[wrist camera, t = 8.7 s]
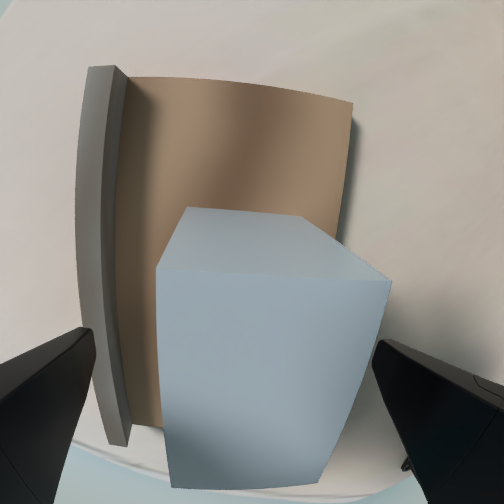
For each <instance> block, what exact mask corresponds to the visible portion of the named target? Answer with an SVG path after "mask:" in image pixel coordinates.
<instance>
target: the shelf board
mask: <svg viewBox="0 0 504 504" xmlns="http://www.w3.org/2000/svg"><path fill="white" fill-rule="evenodd" d="M352 110H353V103H351V102H347V101H343V100H338V99H334V98H330V97H325V96H320V95H316V94H311V93H306V92H300V91H295V90H289V89H283V88H277V87H271V86H264V85H257V84H249V83H241V82H231V81H221V80H210V79H195V78H175V77H127V76H126V75H125V74H124V73H123V72H122V71H121V70H120V69H119V68H117V67H116V66H115V65H109V66H94V67H89V68H88V73H87V79H86V85H85V91H84V97H83V104H82V112H81V120H80V129H79V139H78V150H77V165H76V187H75V238H76V260H77V279H78V290H79V300H80V309H81V317H82V324H83V327H85V328H91V329H92V330H93V333H94V339H95V346H96V361H95V365H94V368H93V372H92V381H93V386H94V390H95V394H96V398H97V402H98V406H99V410H100V414H101V418H102V421H103V425H104V429H105V432H106V436H107V439H108V442H109V444H110V445H116V446H122V447H127V445H128V441H129V436H130V431H131V427H132V424H136V425H144V426H153V427H162V428H163V418H162V408H161V397H160V384H159V369H158V350H157V324H156V267H157V265H158V263H159V261H160V259H161V257H162V255H163V253H164V251H165V249H166V247H167V245H168V243H169V241H170V239H171V237H172V235H173V233H174V231H175V229H176V227H177V225H178V223H179V221H180V219H181V217H182V215H183V213H184V211H185V210H186V208H187V207H198V208H212V209H225V210H238V211H249V212H261V213H272V214H282V215H293V216H302V217H303V218H305V219H306V220H307V221H309V222H310V223H312V224H313V225H315V226H316V227H318V228H319V229H321V230H322V231H323V232H325V233H326V234H328V235H329V236H331V237H332V238H333V239H335V238H336V232H337V226H338V220H339V214H340V207H341V201H342V194H343V187H344V180H345V172H346V165H347V157H348V148H349V139H350V130H351V120H352Z"/></svg>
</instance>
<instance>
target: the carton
mask: <svg viewBox="0 0 504 504" xmlns="http://www.w3.org/2000/svg"><path fill="white" fill-rule="evenodd" d="M391 284H392V281H391V280H390V279H389V278H387V277H386V276H385V275H383V274H382V273H381V272H379V271H378V270H376V269H375V268H374V267H372V266H371V265H370V264H368V263H367V262H366V261H364V260H363V259H361V258H360V257H359V256H357V255H356V254H355V253H353V252H352V251H350V250H349V249H348V248H346V247H345V246H343V245H342V244H341V243H339V242H338V241H336V240H335V239H333V238H332V237H331V236H329V235H328V234H326V233H325V232H323V231H322V230H321V229H319V228H318V227H316V226H315V225H313V224H312V223H310V222H309V221H307V220H306V219H305V218H303V217H302V216H293V215H282V214H272V213H261V212H249V211H238V210H225V209H212V208H198V207H187V208H186V210H185V211H184V213H183V215H182V217H181V219H180V221H179V223H178V225H177V227H176V229H175V231H174V233H173V235H172V237H171V239H170V241H169V243H168V245H167V247H166V249H165V251H164V253H163V255H162V257H161V259H160V261H159V263H158V265H157V267H156V324H157V350H158V369H159V384H160V397H161V408H162V418H163V428H164V437H165V445H166V453H167V461H168V468H169V475H170V481H171V487H172V488H186V489H208V490H241V489H264V488H277V487H288V486H297V485H306V484H313V483H318V481H319V479H320V477H321V475H322V473H323V471H324V469H325V467H326V465H327V463H328V460H329V458H330V456H331V454H332V452H333V450H334V448H335V445H336V443H337V441H338V439H339V436H340V434H341V432H342V430H343V427H344V425H345V422H346V420H347V418H348V415H349V413H350V410H351V408H352V405H353V403H354V400H355V398H356V395H357V392H358V390H359V387H360V384H361V382H362V379H363V376H364V373H365V370H366V368H367V365H368V362H369V359H370V356H371V353H372V350H373V347H374V344H375V340H376V337H377V334H378V331H379V327H380V324H381V321H382V317H383V314H384V310H385V306H386V303H387V299H388V295H389V291H390V288H391Z"/></svg>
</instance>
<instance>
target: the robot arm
mask: <svg viewBox="0 0 504 504" xmlns="http://www.w3.org/2000/svg"><path fill="white" fill-rule="evenodd" d="M95 361H96V346H95V339H94V333H93V330H92V329H91V328H85V327H78V328H76V329H74V330H72V331H70V332H67V333H65V334H63V335H61V336H59V337H57V338H55V339H53V340H51V341H48V342H46V343H44V344H42V345H40V346H38V347H36V348H34V349H31V350H29V351H27V352H25V353H23V354H21V355H19V356H17V357H15V358H12V359H10V360H8V361H6V362H4V363H2V364H0V504H53V503H54V499H55V495H56V491H57V488H58V484H59V480H60V477H61V473H62V470H63V467H64V463H65V460H66V457H67V453H68V450H69V447H70V444H71V441H72V438H73V435H74V432H75V429H76V426H77V423H78V420H79V417H80V414H81V412H82V409H83V406H84V403H85V400H86V397H87V393H88V389H89V385H90V380H91V376H92V372H93V368H94V365H95ZM372 369H373V371H374V374H375V377H376V380H377V383H378V386H379V389H380V392H381V395H382V398H383V400H384V403H385V405H386V407H387V410H388V412H389V414H390V416H391V418H392V421H393V423H394V425H395V427H396V429H397V432H398V434H399V436H400V438H401V441H402V443H403V445H404V447H405V450H406V452H407V454H408V458H407V460H406V461H405V462H404V464H403V465H402V467H401V469H402V471H403V472H405V471H408V470H411V471H412V472H413V474H414V476H415V477H416V479H417V481H418V483H419V484H420V486H421V488H422V490H423V492H424V495H425V497H426V500H427V501H428V504H504V386H503V385H500V384H497V383H494V382H492V381H489V380H486V379H484V378H481V377H479V376H476V375H474V374H473V375H472V374H471V373H469V372H467V371H464V370H462V369H460V368H457V367H455V366H452V365H450V364H448V363H445V362H443V361H441V360H438V359H436V358H433V357H431V356H429V355H426V354H424V353H422V352H419V351H417V350H415V349H412V348H410V347H408V346H406V345H403V344H401V343H399V342H396V341H394V340H392V339H383V340H380V341H379V342H378V344H377V347H376V350H375V353H374V356H373V359H372Z"/></svg>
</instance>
